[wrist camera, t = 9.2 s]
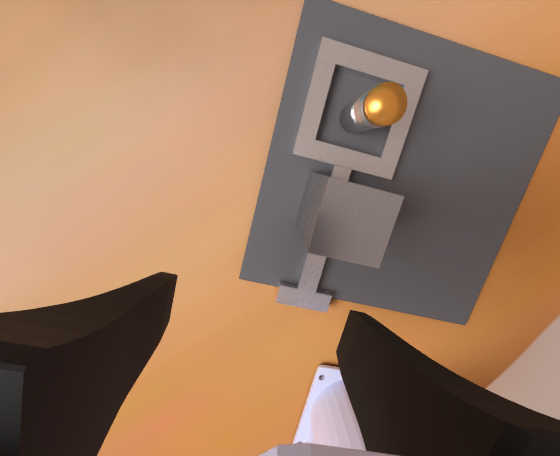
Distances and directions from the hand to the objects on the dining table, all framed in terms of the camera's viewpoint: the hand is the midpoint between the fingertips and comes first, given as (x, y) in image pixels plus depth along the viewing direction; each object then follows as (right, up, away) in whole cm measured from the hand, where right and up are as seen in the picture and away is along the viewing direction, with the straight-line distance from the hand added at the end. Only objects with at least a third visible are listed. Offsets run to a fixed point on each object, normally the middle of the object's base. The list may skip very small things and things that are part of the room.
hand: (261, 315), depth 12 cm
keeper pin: (+6, +11, +8) cm, 14 cm away
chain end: (+4, +5, +9) cm, 11 cm away
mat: (+9, +7, +9) cm, 15 cm away
